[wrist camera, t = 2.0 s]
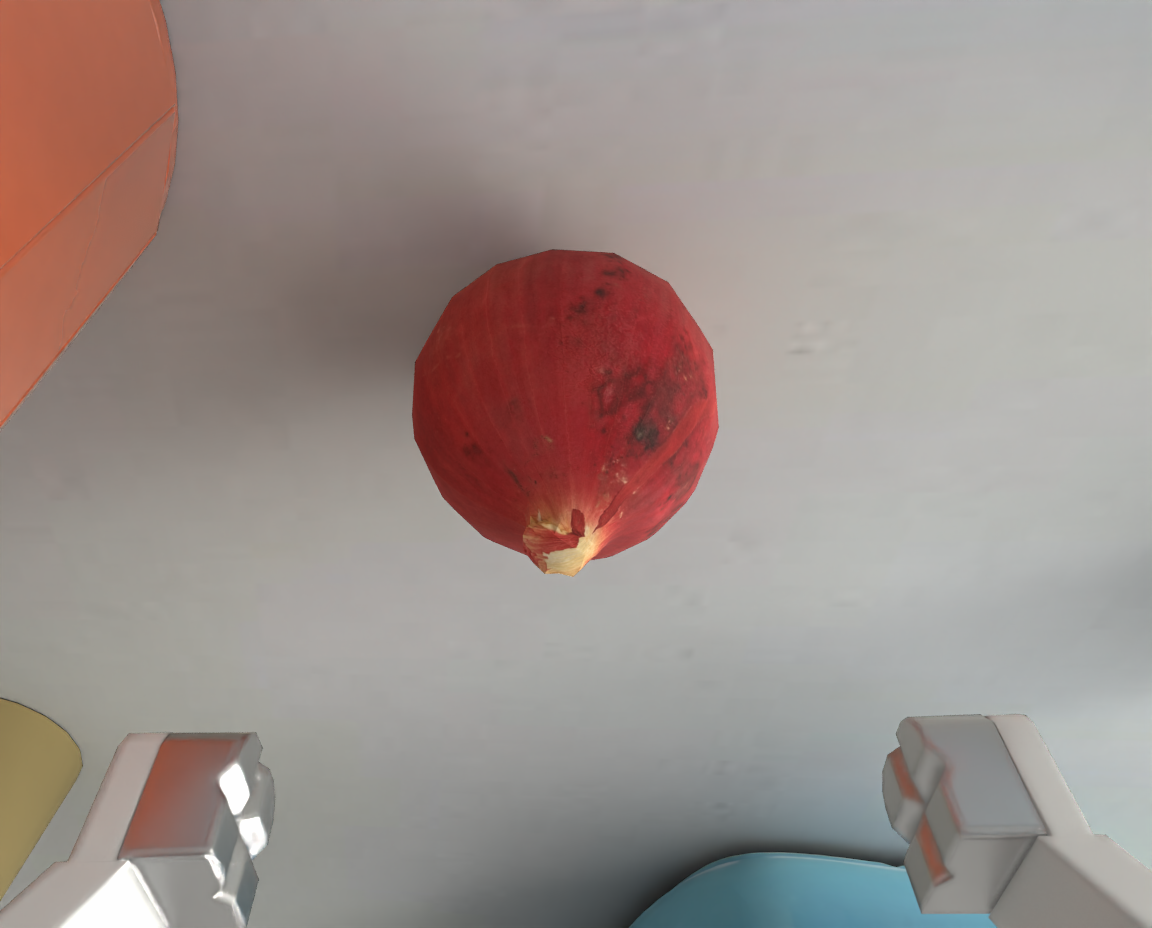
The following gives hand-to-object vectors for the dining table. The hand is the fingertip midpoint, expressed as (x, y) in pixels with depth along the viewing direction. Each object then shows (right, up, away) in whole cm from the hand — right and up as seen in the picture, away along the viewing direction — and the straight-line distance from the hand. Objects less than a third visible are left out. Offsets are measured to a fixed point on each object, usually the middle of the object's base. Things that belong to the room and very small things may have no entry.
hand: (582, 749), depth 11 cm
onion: (0, +7, +9) cm, 12 cm away
